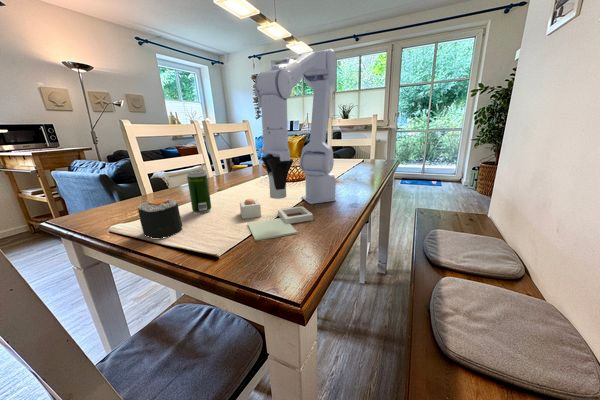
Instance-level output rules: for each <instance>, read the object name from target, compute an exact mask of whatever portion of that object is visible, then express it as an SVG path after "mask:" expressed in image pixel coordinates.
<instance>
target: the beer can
mask: <svg viewBox="0 0 600 400" xmlns="http://www.w3.org/2000/svg"><path fill="white" fill-rule="evenodd" d="M206 172H207V171H206V170H204V169H203V170H202V169H195V170H190V171H187V172H186V174H187V175H186V179H187V185H188V190H189V191H188V192H189V197H190V203H191V210H192V212H193V214H200V215H201V214H205V213H209V212H211V211H212V201H211V195H210V188H209V179H208V174H207V173H206Z"/></svg>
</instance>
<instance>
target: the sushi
mask: <svg viewBox="0 0 600 400" xmlns="http://www.w3.org/2000/svg"><path fill="white" fill-rule="evenodd" d="M136 208H137V210H138V216H139V220H140V225H141V229H142V232H143V235H144V236H145V235H146V236H149V237H152V238H163V237H167V238H169V237H172V236H174V235H176V234H178V233H180V232H182V230H183V223H182V217H181V213H180V209H179V205H178V201H176V200H175V199H173V198H171V199H170V198H156V199H154V200H150V199H149V200H148V199H147V200H146V201H145V202H143V203H139V204H138V205H136ZM173 234H174V235H173ZM171 235H172V236H171ZM146 236H145V237H146ZM168 236H169V237H168ZM163 239H164V238H163Z"/></svg>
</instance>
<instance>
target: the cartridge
mask: <svg viewBox="0 0 600 400" xmlns="http://www.w3.org/2000/svg"><path fill="white" fill-rule="evenodd" d="M268 183H269V197H270V199H276V200H279V199H285V198H286V197H287V185H286V186H285V189H280V190H276V188H275V185H274V179H273V174H272V172H269V176H268Z"/></svg>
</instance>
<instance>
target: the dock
mask: <svg viewBox="0 0 600 400" xmlns="http://www.w3.org/2000/svg"><path fill="white" fill-rule="evenodd" d="M300 213H301V214H300ZM293 214H298V215H293ZM299 214H300V215H299ZM277 215H278V217H279V218H282V219H283V220H284V221H285V222H286V223H288V222H289V223H290V224H291V225H292V224H296V223H302V222H308V221H309V222H310V221H313V220H314V214H313V213H312V212H310V210H308V209H307V208H305V207H304V206H303V205H300V206H295V207H293V206H292V207H287V208H281V209H280V208H279V209H277ZM288 215H293V216H288Z"/></svg>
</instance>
